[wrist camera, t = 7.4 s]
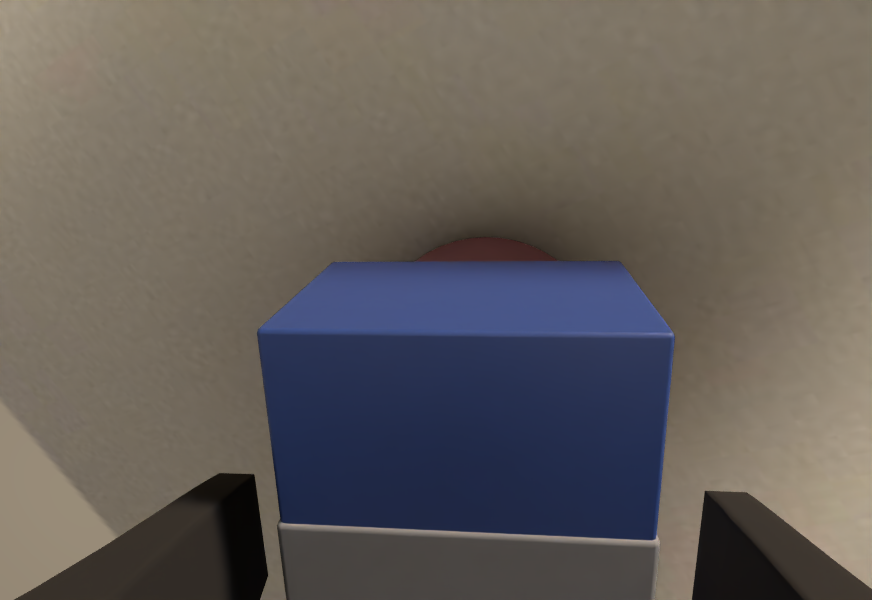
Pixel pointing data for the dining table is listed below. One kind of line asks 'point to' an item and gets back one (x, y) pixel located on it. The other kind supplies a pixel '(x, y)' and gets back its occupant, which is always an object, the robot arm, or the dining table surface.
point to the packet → (468, 431)
